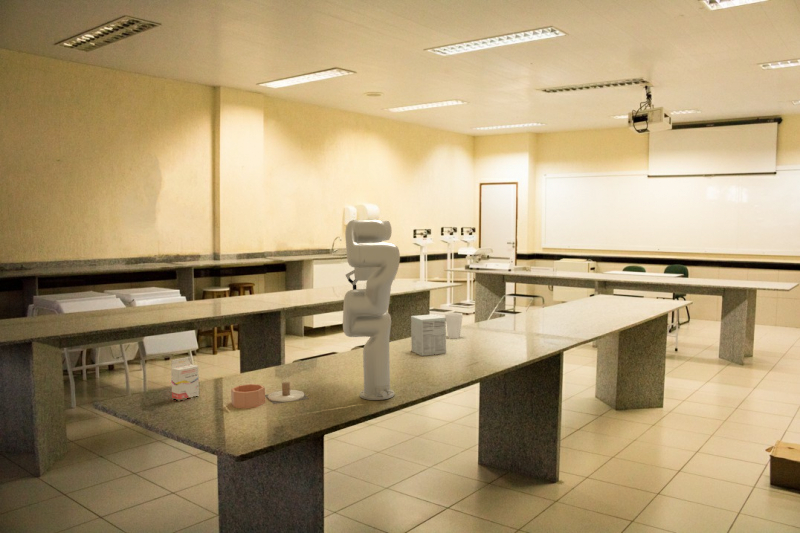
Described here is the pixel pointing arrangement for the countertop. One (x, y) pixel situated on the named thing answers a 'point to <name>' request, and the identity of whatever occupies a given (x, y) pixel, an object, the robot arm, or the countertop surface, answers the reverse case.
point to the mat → (284, 402)
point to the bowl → (248, 396)
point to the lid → (286, 394)
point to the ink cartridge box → (184, 378)
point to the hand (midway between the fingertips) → (367, 294)
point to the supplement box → (428, 334)
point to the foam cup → (453, 324)
